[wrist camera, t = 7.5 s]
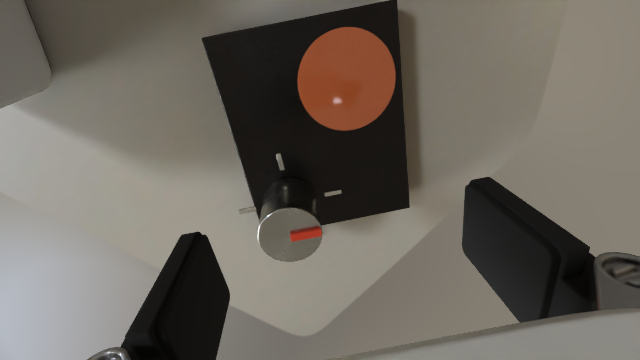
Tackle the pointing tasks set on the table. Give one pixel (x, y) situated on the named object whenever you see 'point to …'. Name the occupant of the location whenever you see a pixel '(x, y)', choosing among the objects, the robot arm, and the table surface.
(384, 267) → the table surface
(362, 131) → the hob
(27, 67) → the radio
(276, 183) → the hob knob
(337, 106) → the burner ring
